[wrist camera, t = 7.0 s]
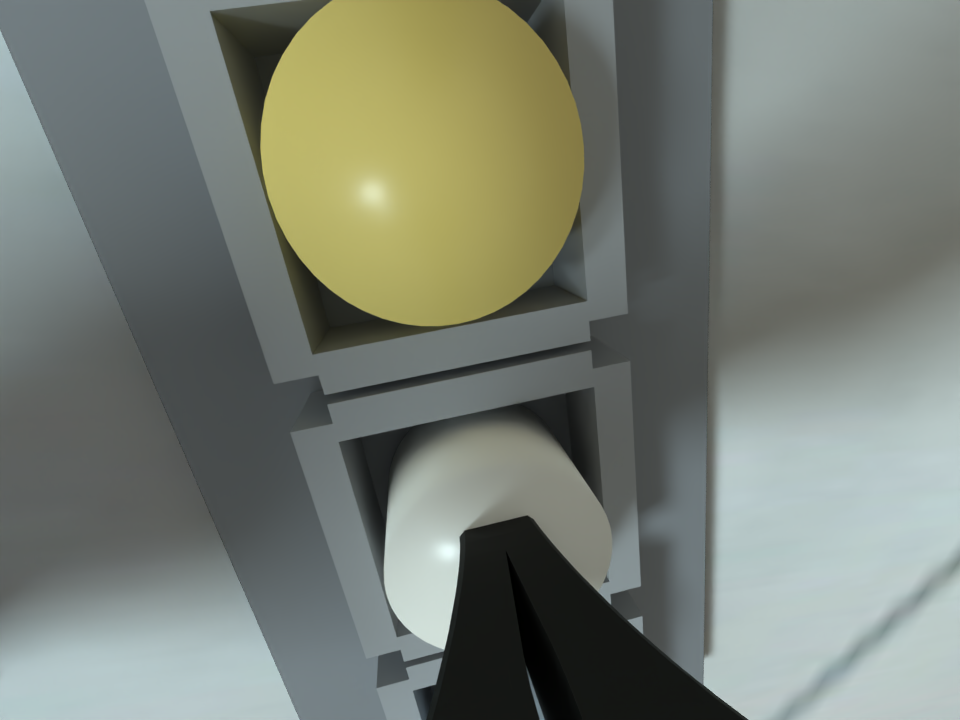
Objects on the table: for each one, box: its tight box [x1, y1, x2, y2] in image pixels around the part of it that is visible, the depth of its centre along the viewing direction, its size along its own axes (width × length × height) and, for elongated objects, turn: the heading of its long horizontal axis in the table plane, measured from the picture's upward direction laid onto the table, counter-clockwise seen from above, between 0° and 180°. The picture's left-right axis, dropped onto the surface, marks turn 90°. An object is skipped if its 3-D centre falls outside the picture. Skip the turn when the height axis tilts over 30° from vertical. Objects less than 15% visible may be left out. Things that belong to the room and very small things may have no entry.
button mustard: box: [260, 0, 584, 326], centre depth 8 cm, size 4×4×3 cm
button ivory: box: [384, 404, 612, 650], centre depth 10 cm, size 4×4×3 cm
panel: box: [0, 0, 713, 720], centre depth 11 cm, size 13×22×3 cm, turn 9°
